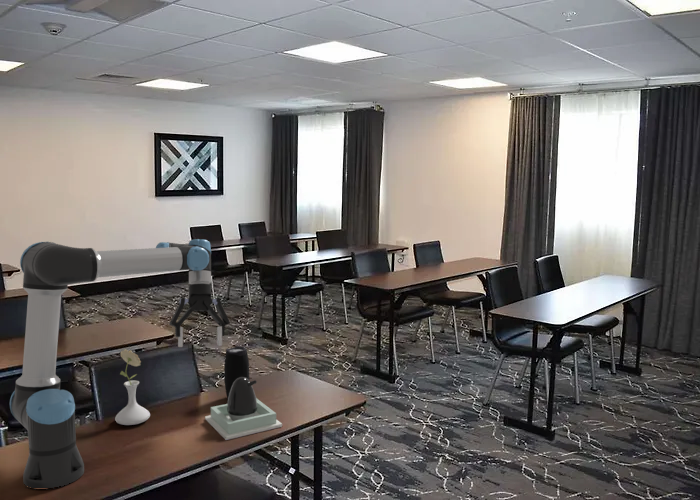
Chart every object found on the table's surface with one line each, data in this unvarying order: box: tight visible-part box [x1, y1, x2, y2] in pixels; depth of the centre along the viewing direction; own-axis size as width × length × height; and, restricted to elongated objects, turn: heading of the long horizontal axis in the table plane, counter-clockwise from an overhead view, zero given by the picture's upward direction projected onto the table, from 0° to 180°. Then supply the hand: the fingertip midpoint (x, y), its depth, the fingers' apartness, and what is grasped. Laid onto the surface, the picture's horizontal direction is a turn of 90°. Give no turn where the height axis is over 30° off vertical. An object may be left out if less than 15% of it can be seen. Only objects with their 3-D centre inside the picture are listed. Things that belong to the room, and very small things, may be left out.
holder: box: [204, 397, 283, 441], centre depth 200 cm, size 20×20×4 cm
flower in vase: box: [114, 348, 151, 426], centre depth 200 cm, size 13×11×25 cm
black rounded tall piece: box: [226, 377, 258, 421], centre depth 199 cm, size 10×10×15 cm
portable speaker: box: [223, 345, 250, 399], centre depth 222 cm, size 9×9×20 cm
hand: (200, 346), depth 197 cm, fingers open, 13 cm apart
